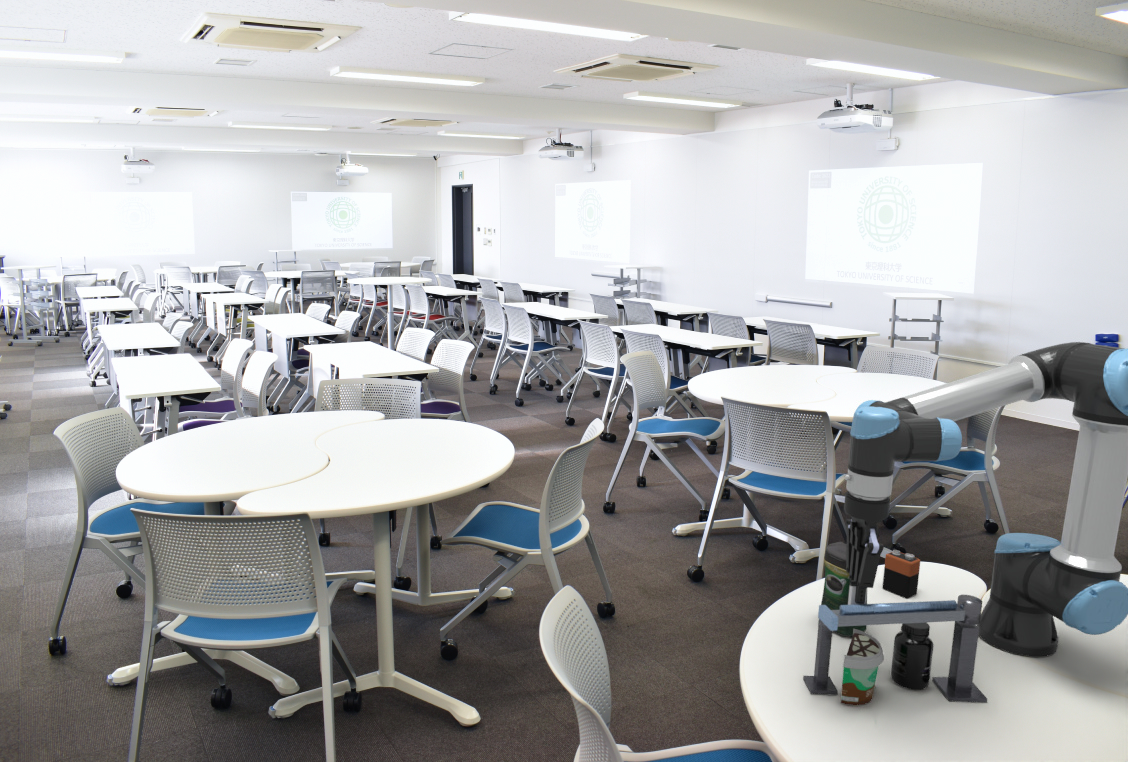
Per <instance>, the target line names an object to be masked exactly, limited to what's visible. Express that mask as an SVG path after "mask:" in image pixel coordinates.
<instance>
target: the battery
mask: <svg viewBox="0 0 1128 762" xmlns="http://www.w3.org/2000/svg"><path fill="white" fill-rule="evenodd" d="M920 567H921V559H919V558H918V557H915V555H914V554H912V553H903V552H901V551H900V550H897V549H893V550H892V552H889V553H886V554H885V559H884V569H883V577H882V578H883V579H882V589H883V590H885V591H887V592H890V593H892V594H895V595H897V596H899V595H900V596H899V597H902V598H904V597H905V599H909V598H912V597H914V596H916V595H917V594H918V587H919V577H920V569H921V568H920Z"/></svg>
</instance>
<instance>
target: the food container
mask: <svg viewBox="0 0 1128 762" xmlns="http://www.w3.org/2000/svg"><path fill="white" fill-rule="evenodd" d="M851 637H852V638H851V641H850V643H849V646H848V649H847V652H846V655H845V654H844V657H843V663H842V665H843V666H842V668H843V671H842V682H841V683H842V685H841V694H840V695H841V696H840V704H842V705H846V706H864V705H865V706H866V705H867V704H870V703H871V701H873V698H874V694H875V693H874V691H875V688H876V684H877V682H876V681H877V678H878V677H877V676H878V672H879V667H880V666H881V665H882V664H883V663H884V660H885V656H884V650H883V647H882V645H881V643H880V641H879V640H878V639H877V638H876V637H875V636H873V635H871V634H869V633H868V632H866V631H865V632H863V631H860V630H857V629H853V636H851Z"/></svg>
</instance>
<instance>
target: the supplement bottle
mask: <svg viewBox="0 0 1128 762" xmlns="http://www.w3.org/2000/svg"><path fill="white" fill-rule="evenodd" d="M930 629H931V626H930V624H929V622H926V623H905V624H901V626H900V631H898V632H897V633H896V634H895V635H894V640H893V641H894V642H893V649H892V660H891V667H890V668H891V669H890V678H891V679H892V681H893V682H894V684H896V685H898V686H899V687H902V688H904V689H907V690H912V691H923V690H925V689H927V688H928V686H929V685H930V679H931V678H930V677H931V670H932V662H933V653H934V642H933V640H932V639H931V638H930Z"/></svg>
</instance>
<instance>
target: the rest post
mask: <svg viewBox="0 0 1128 762" xmlns="http://www.w3.org/2000/svg"><path fill="white" fill-rule="evenodd" d="M832 639H833V631H831V630H830V629H829V628H828V627H827V626H826V625H825V624H824V623H823V622H822V621H821V620H819V619H818V626H817V637H816V649H815V660H814V670H813V675H803V677H802V679H803V683H804V684H805V687H806V688H807V690H808V692H809V694H810V695H823V696H824V695H826V696H827V695H828V696H829V695H830V696H838V695H839V690H838V689H837V687H836V685H835V683H834V681H833V680H832V678H831V676H830V675H829V674H830V662H831V649H832Z"/></svg>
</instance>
